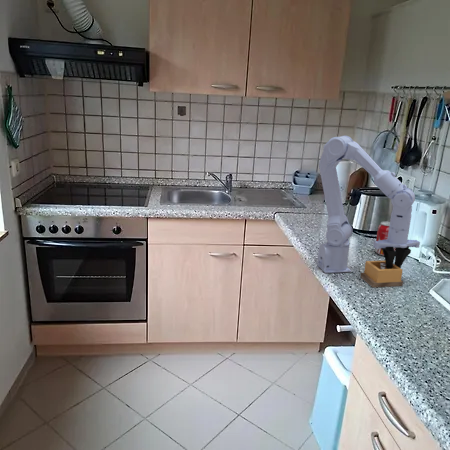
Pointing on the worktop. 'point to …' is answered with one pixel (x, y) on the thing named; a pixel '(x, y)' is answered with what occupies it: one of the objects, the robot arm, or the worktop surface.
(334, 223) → the robot arm
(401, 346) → the worktop surface
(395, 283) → the board
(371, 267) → the orange open box
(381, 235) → the soda can
